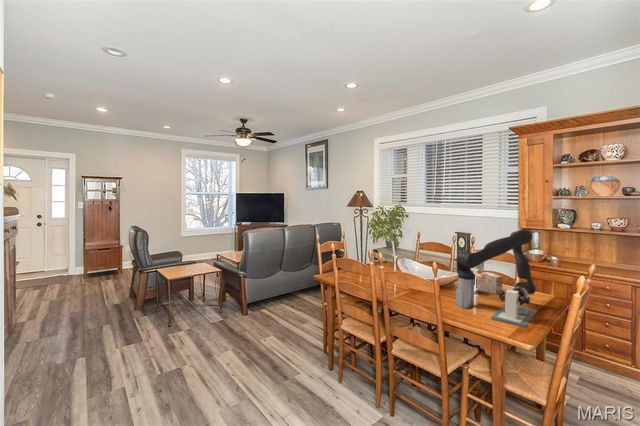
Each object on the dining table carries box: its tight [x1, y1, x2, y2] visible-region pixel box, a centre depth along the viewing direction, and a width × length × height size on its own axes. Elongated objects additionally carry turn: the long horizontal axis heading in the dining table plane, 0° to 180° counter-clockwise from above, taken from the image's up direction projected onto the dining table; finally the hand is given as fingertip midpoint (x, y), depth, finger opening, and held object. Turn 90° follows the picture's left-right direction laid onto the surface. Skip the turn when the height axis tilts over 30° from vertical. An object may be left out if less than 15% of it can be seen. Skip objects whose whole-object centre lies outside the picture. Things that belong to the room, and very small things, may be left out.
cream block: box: [504, 289, 519, 319], centre depth 172 cm, size 5×5×14 cm
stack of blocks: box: [476, 271, 503, 295], centre depth 226 cm, size 21×6×12 cm, turn 23°
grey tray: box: [490, 304, 537, 329], centre depth 178 cm, size 28×16×3 cm, turn 136°
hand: (511, 301), depth 171 cm, fingers open, 8 cm apart
